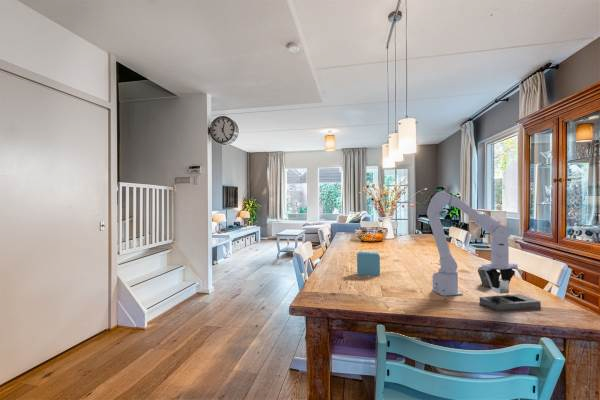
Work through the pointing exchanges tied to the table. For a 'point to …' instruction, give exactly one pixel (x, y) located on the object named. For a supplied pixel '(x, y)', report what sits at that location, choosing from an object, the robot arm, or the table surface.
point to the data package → (368, 263)
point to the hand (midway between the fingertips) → (500, 287)
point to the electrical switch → (484, 277)
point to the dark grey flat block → (510, 302)
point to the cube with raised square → (502, 286)
